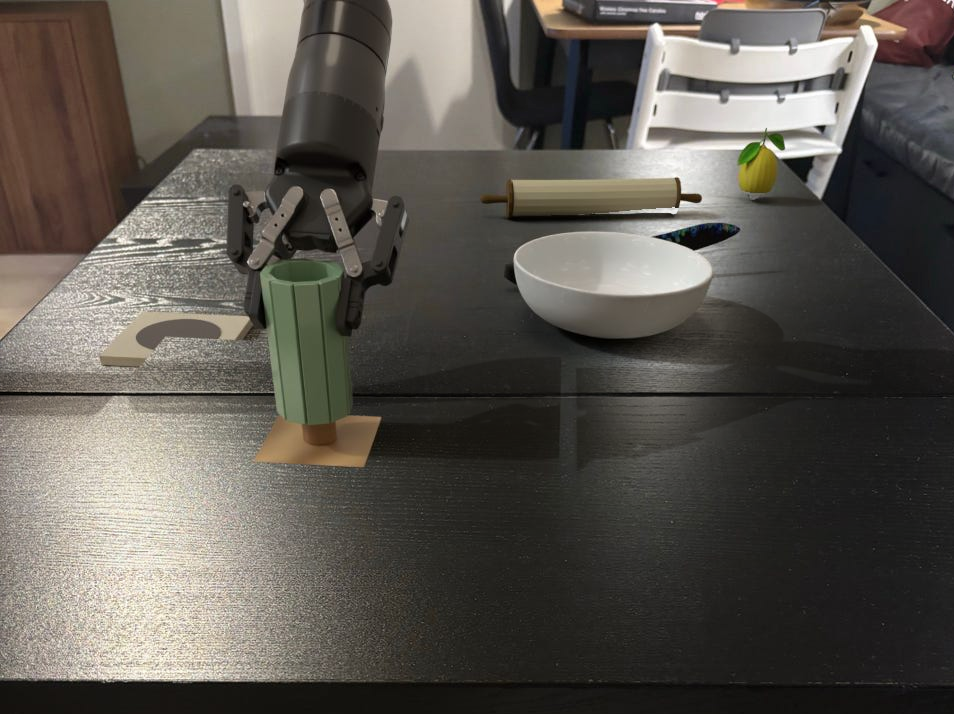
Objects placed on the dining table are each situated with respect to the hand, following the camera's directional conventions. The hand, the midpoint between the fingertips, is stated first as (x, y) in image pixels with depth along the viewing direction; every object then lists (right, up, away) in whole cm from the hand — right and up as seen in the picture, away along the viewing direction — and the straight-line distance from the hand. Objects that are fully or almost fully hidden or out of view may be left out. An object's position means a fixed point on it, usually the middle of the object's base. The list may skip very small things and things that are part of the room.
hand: (300, 327), depth 71 cm
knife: (+32, +21, +43) cm, 57 cm away
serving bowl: (+28, +11, +32) cm, 44 cm away
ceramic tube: (0, -5, +6) cm, 8 cm away
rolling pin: (+30, +37, +65) cm, 80 cm away
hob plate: (-17, +7, +25) cm, 31 cm away
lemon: (+55, +43, +73) cm, 101 cm away
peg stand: (0, -8, +8) cm, 11 cm away
